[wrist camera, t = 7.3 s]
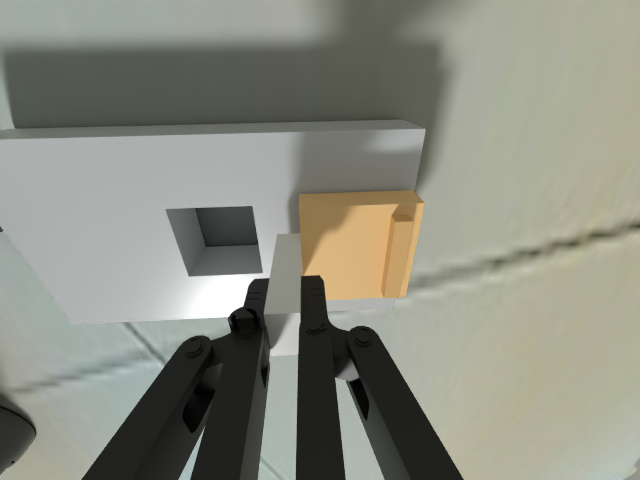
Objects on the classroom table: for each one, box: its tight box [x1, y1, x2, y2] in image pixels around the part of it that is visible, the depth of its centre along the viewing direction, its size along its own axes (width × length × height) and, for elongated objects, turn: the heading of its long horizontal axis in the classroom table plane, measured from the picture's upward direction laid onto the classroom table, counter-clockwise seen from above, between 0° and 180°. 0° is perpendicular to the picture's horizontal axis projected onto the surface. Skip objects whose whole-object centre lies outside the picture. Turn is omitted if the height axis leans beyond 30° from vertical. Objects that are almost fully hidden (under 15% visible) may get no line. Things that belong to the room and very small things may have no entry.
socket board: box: [0, 119, 426, 325], centre depth 20 cm, size 26×14×4 cm, turn 91°
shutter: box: [299, 190, 425, 300], centre depth 17 cm, size 7×7×3 cm
